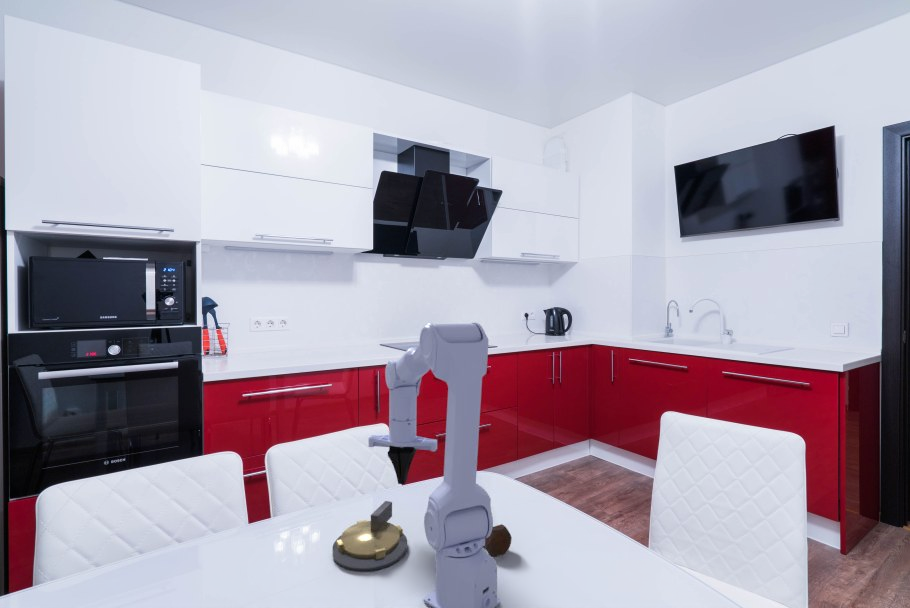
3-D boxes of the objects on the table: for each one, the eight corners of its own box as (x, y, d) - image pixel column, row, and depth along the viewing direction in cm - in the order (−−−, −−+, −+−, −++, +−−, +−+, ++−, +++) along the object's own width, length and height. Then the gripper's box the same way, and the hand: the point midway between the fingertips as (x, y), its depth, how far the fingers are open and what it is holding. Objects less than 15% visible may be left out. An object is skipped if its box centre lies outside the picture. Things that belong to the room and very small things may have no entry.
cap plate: (422, 548, 86) (422, 542, 86) (363, 582, 76) (363, 575, 76) (375, 524, 96) (375, 518, 96) (317, 551, 85) (317, 545, 85)
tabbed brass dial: (346, 568, 77) (346, 542, 77) (330, 534, 88) (330, 512, 88) (413, 549, 83) (413, 526, 83) (390, 520, 94) (390, 499, 94)
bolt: (462, 529, 97) (504, 562, 85) (444, 522, 95) (484, 555, 82) (473, 503, 99) (515, 531, 86) (456, 495, 97) (497, 523, 84)
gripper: (440, 415, 97) (440, 477, 97) (377, 411, 100) (376, 472, 100) (433, 423, 90) (432, 491, 90) (364, 419, 93) (364, 485, 93)
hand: (402, 482), depth 94 cm, fingers closed
